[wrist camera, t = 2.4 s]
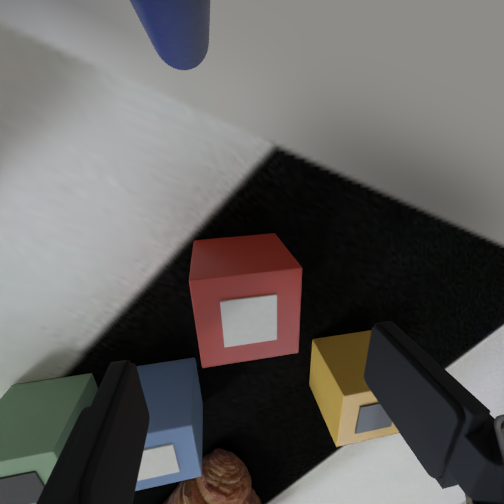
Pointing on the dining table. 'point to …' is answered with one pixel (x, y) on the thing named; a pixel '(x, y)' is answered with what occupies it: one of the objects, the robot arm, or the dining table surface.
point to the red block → (245, 298)
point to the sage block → (37, 432)
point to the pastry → (217, 482)
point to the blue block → (171, 423)
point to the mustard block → (346, 389)
